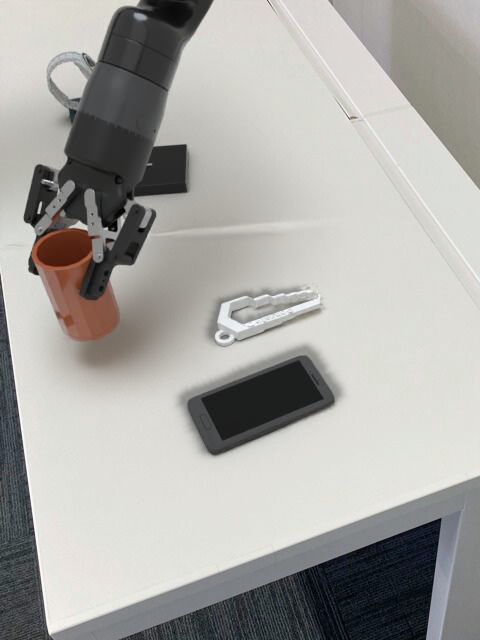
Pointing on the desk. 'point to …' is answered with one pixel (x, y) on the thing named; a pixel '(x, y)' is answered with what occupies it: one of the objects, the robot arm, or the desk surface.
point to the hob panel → (165, 171)
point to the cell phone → (259, 403)
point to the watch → (86, 68)
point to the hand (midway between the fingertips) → (62, 285)
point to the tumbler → (73, 285)
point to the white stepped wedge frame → (259, 325)
